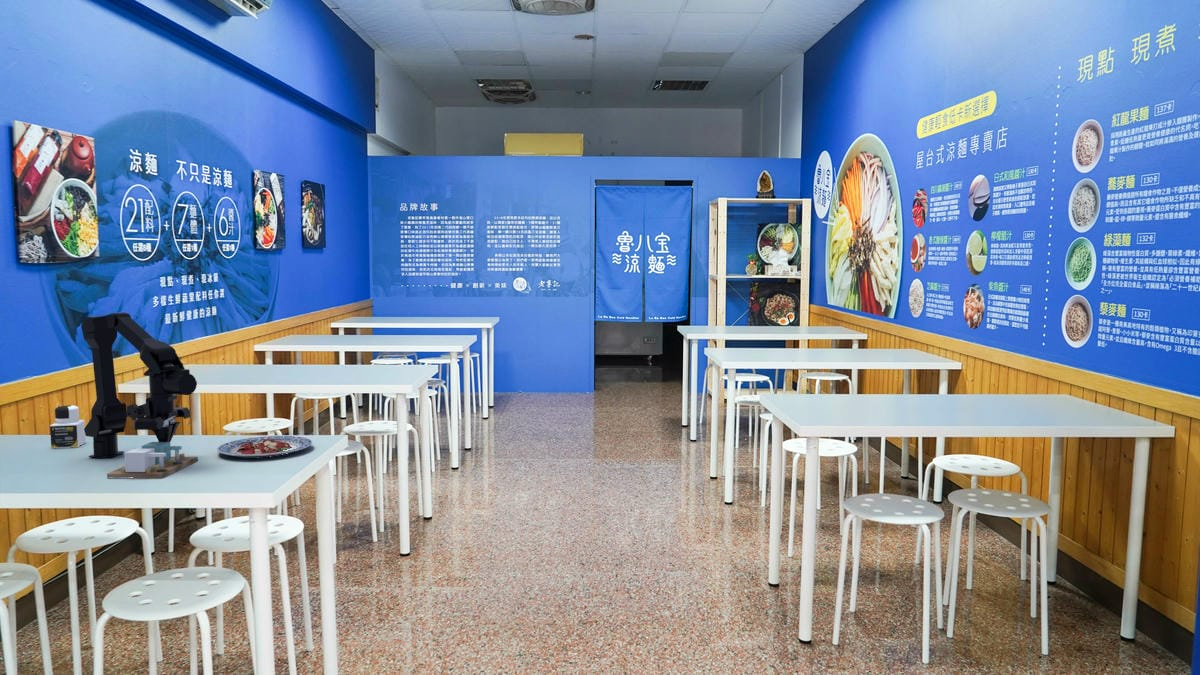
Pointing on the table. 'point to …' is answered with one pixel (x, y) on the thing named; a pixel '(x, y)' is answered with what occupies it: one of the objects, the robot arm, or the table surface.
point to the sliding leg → (163, 450)
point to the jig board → (157, 468)
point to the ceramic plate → (263, 446)
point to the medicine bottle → (67, 428)
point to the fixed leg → (142, 459)
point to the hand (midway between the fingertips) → (164, 449)
